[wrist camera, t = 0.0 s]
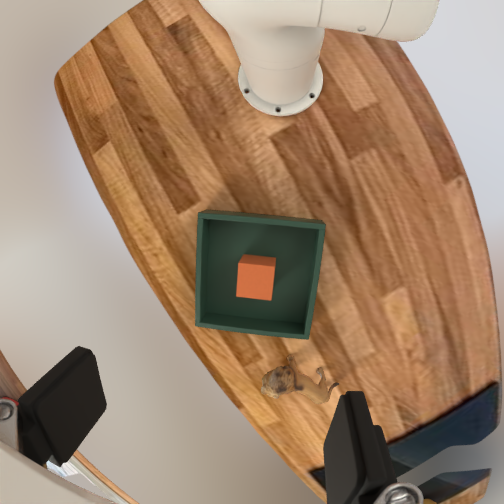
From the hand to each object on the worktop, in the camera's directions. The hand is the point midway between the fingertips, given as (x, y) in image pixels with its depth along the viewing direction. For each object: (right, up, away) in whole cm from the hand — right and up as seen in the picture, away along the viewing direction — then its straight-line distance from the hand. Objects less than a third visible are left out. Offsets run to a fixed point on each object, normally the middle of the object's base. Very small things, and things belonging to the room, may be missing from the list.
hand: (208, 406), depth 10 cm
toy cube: (+3, +3, +37) cm, 37 cm away
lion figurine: (+10, -16, +41) cm, 45 cm away
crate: (+3, +3, +37) cm, 37 cm away
